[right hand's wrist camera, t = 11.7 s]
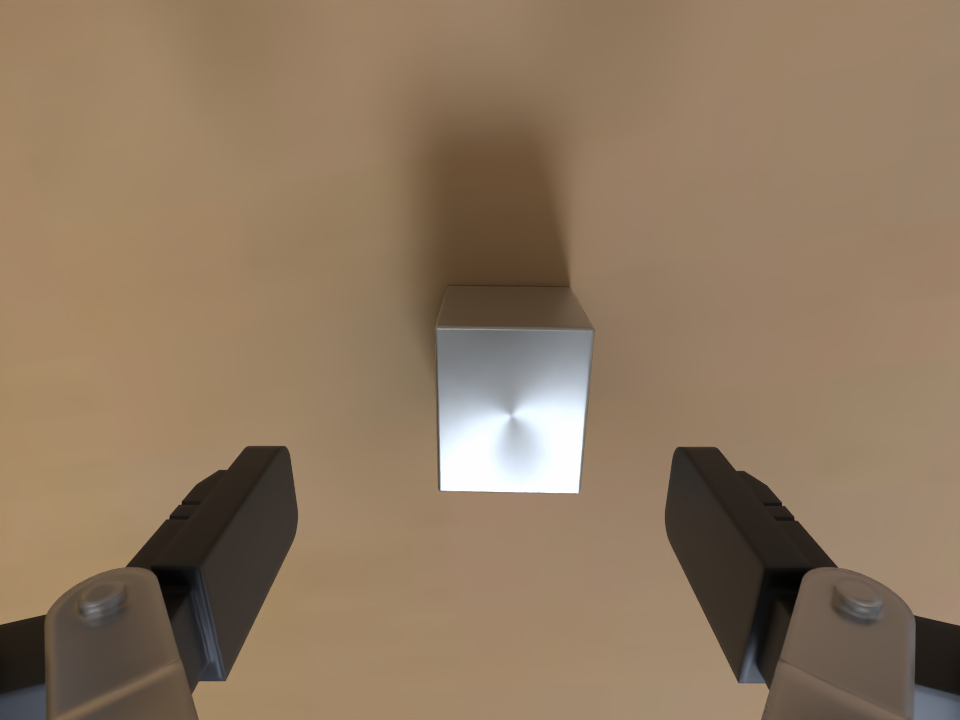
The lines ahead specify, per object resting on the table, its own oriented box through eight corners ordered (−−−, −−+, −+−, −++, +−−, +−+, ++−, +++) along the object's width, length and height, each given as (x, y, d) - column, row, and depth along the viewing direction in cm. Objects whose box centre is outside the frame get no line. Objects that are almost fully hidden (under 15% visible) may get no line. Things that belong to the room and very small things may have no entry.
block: (571, 286, 18) (595, 327, 13) (561, 422, 19) (580, 495, 15) (446, 284, 18) (433, 326, 14) (448, 420, 19) (437, 492, 15)
